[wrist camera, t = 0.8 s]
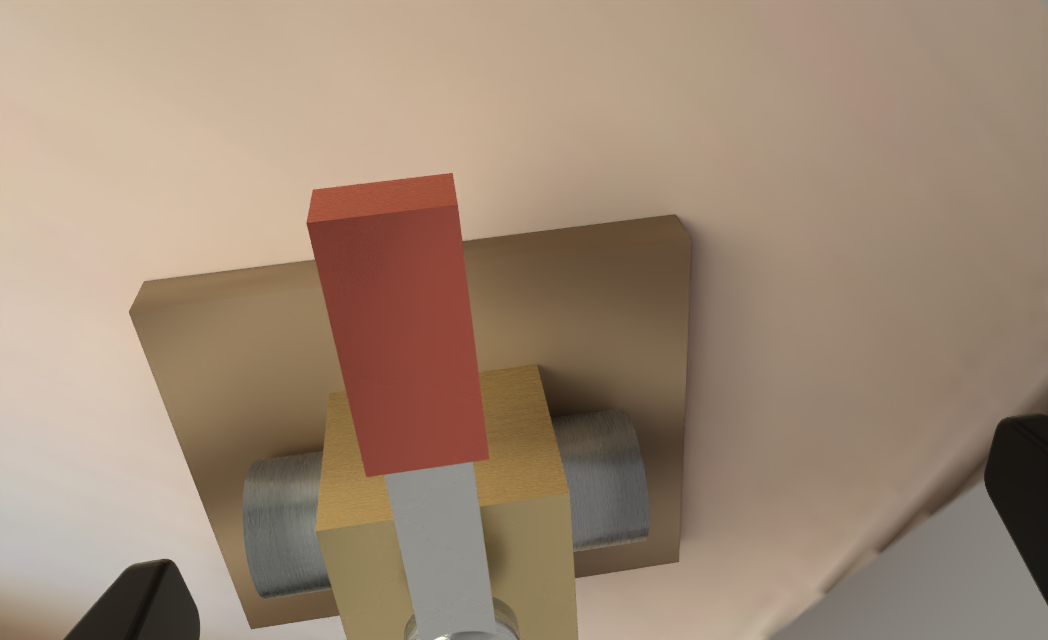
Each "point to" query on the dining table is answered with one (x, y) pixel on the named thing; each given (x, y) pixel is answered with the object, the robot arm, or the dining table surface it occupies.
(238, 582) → the valve board
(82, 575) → the dining table surface
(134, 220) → the dining table surface
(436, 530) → the valve lever
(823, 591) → the dining table surface
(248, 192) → the dining table surface
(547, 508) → the ball valve
